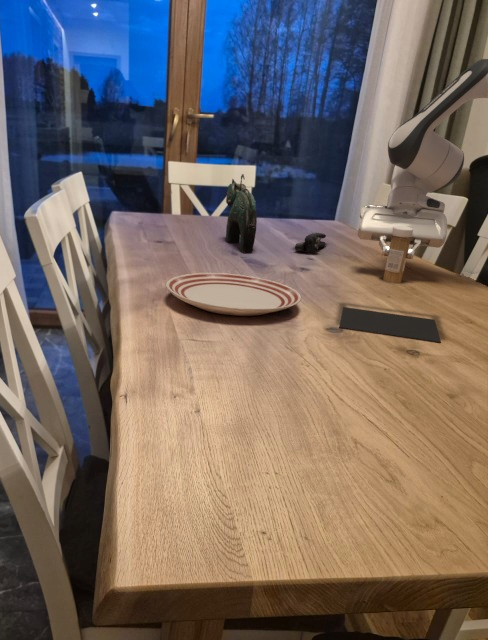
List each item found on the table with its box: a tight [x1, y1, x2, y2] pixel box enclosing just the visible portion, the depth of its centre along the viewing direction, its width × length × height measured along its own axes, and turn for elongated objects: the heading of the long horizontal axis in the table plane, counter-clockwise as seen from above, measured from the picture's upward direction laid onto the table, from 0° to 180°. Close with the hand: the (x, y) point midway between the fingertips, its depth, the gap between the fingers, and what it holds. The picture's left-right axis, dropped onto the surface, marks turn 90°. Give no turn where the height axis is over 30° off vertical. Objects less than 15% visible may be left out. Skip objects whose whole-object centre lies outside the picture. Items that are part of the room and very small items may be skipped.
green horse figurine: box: [225, 173, 258, 254], centre depth 166 cm, size 20×6×20 cm, turn 11°
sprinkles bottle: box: [382, 226, 413, 284], centre depth 137 cm, size 5×5×14 cm
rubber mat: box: [338, 306, 442, 344], centre depth 111 cm, size 18×14×1 cm
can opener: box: [294, 231, 327, 254], centre depth 171 cm, size 18×7×6 cm, turn 148°
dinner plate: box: [165, 272, 302, 317], centre depth 117 cm, size 28×27×3 cm
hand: (397, 256), depth 137 cm, fingers closed on sprinkles bottle, 4 cm apart
